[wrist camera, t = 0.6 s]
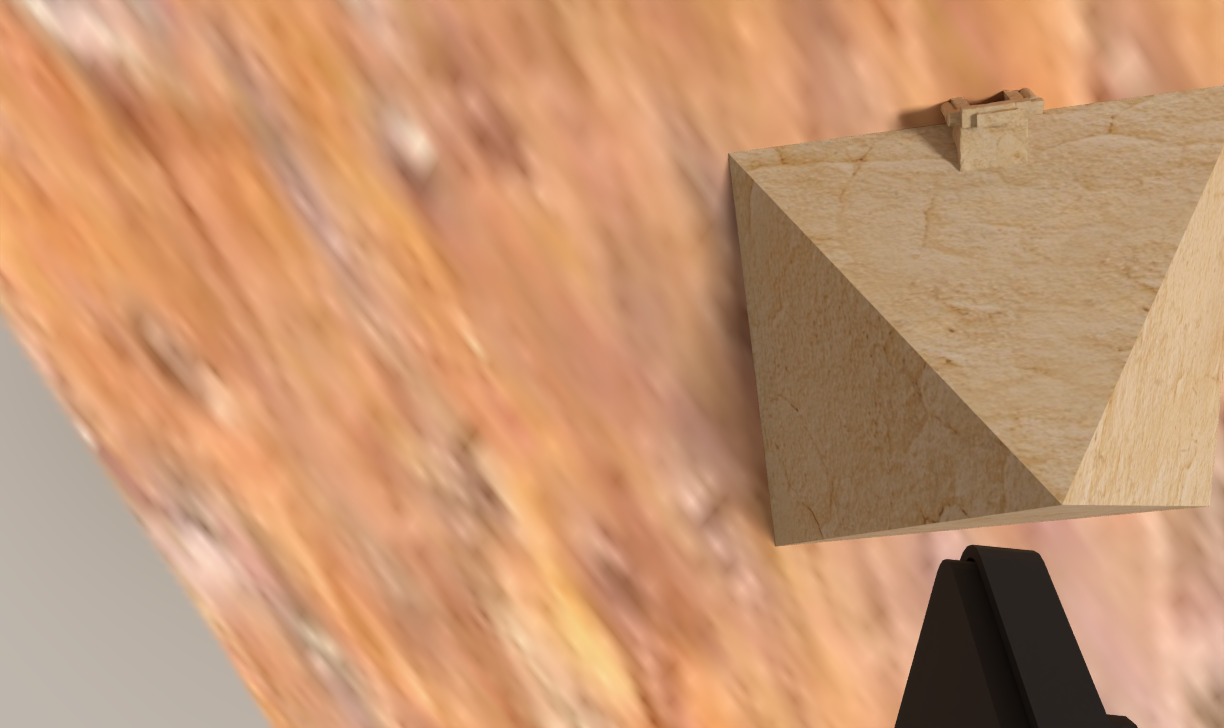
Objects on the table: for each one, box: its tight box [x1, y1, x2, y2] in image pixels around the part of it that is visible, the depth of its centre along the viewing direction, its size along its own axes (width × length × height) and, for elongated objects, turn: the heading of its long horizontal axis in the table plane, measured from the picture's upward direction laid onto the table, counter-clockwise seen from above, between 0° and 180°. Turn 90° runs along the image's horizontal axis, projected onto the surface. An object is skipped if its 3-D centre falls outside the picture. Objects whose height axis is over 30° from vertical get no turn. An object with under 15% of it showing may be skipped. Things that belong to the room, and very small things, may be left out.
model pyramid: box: [728, 86, 1224, 546], centre depth 37 cm, size 17×17×10 cm
